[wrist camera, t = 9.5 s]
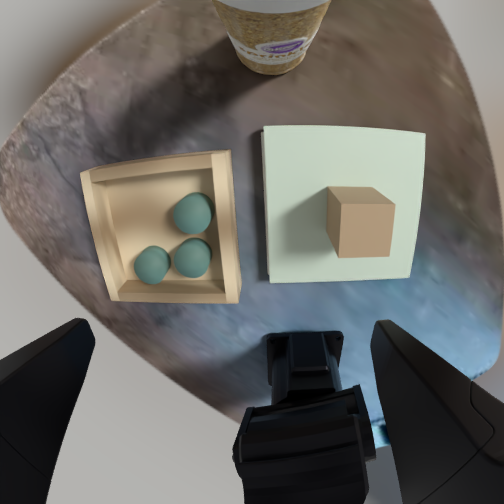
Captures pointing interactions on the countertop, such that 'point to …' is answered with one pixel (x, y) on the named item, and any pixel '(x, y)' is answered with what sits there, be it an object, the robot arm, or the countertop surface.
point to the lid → (342, 202)
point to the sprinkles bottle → (271, 31)
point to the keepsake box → (166, 228)
